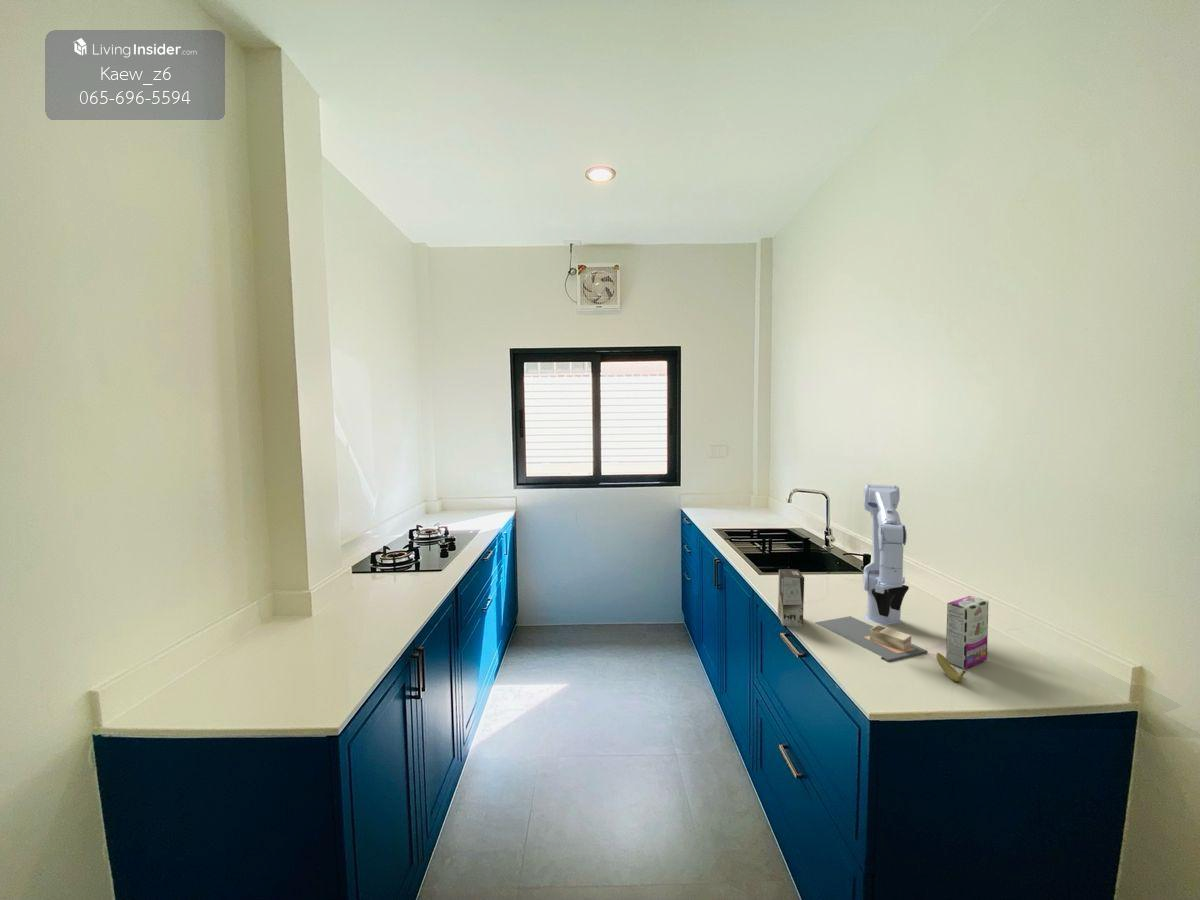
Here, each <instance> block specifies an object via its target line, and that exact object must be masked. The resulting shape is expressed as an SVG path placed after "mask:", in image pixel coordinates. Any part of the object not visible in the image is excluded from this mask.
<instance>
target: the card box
mask: <svg viewBox="0 0 1200 900" xmlns="http://www.w3.org/2000/svg"><path fill="white" fill-rule="evenodd" d="M870 640H872V641H875V642H878V643H882V644H885V645H888V646H891V647H894V648H897V649H900V650H903V651H904V650H906V649H907V648H909V647H910V646H911V644H912V635H911V634H908V633H905V632H901V631H898V630H895V629H892V628H888V627H886V626H883V625H879V624H876V626H874V628H872V629H870Z"/></svg>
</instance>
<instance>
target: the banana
mask: <svg viewBox="0 0 1200 900" xmlns="http://www.w3.org/2000/svg"><path fill="white" fill-rule="evenodd" d="M935 656H936V661H937V663H938V665H939V666H940V668H941V669H942V670H943V672H944V673H945V674H946V675H947V677H948V678H950V679H951V680H953V681H954V682H956V683H960V682H962V681H963V679H964V675H965V674H966V673H967V672H966V670H965V669H963V670H961V671H962V672H961V673H959V672H958V671H957V670H956V669H955V667H953V665H952V664H950V663H949V662H948V661H947V659H946V656H944V655H943V654H941V653H939V652H937V653H936V655H935Z"/></svg>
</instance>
